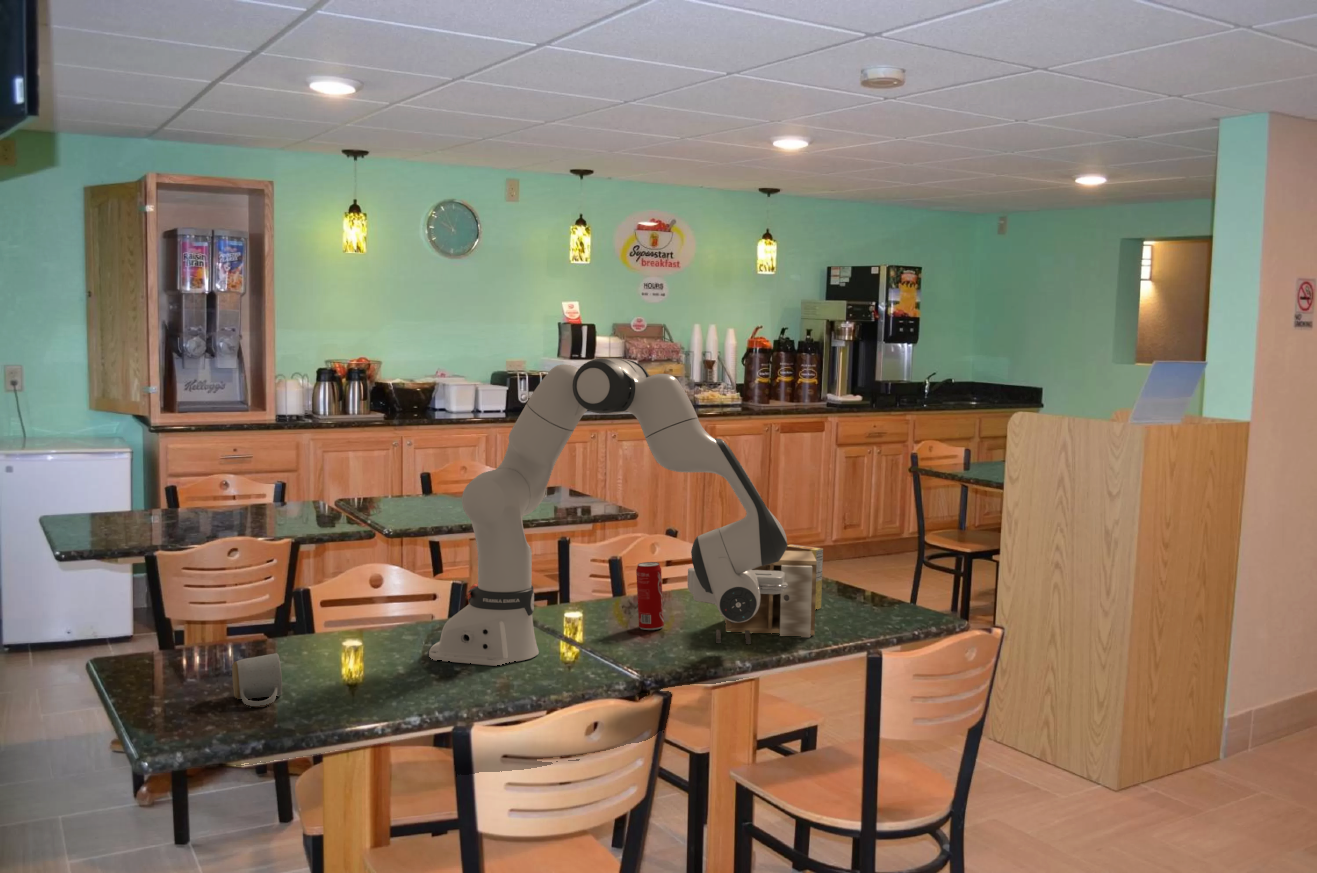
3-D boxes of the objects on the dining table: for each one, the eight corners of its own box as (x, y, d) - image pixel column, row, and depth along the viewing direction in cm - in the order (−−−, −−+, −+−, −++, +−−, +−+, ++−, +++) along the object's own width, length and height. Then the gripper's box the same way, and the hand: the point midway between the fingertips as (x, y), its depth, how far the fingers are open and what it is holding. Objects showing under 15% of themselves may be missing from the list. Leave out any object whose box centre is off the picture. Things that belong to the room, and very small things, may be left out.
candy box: (782, 606, 281) (784, 545, 280) (790, 603, 284) (792, 543, 283) (814, 611, 276) (816, 549, 275) (822, 608, 279) (823, 547, 278)
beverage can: (663, 631, 254) (664, 566, 253) (634, 630, 254) (635, 565, 253) (663, 624, 260) (665, 561, 259) (635, 624, 260) (636, 560, 259)
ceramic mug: (231, 694, 204) (230, 653, 203) (278, 688, 208) (277, 648, 207) (236, 712, 194) (236, 669, 194) (285, 706, 198) (285, 664, 197)
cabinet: (716, 643, 244) (717, 567, 243) (715, 619, 266) (717, 548, 264) (818, 646, 243) (820, 569, 242) (809, 622, 265) (811, 551, 263)
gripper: (789, 572, 223) (785, 559, 237) (686, 569, 224) (688, 556, 238) (788, 604, 224) (784, 589, 237) (686, 600, 225) (687, 586, 238)
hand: (735, 572), depth 238 cm, fingers closed on door, 3 cm apart
